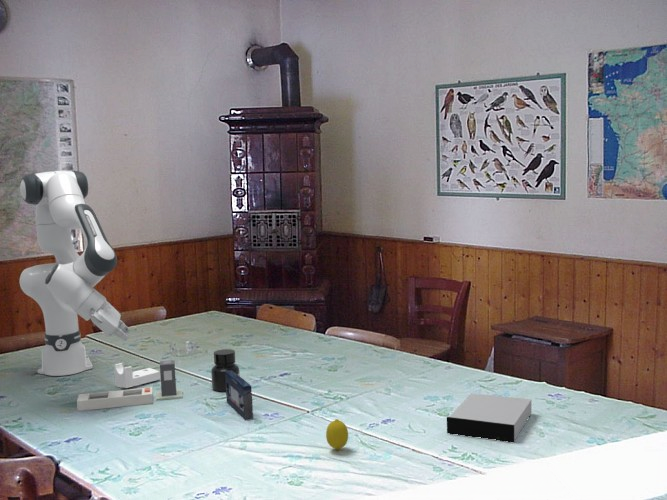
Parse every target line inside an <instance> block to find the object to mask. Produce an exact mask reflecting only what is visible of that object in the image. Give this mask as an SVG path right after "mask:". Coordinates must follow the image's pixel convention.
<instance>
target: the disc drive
mask: <svg viewBox="0 0 667 500" xmlns="http://www.w3.org/2000/svg"><path fill="white" fill-rule="evenodd" d="M531 413H532V399H528V398H521V397H520V398H519V397H509V396H501V395H492V394H481V393H473V392H472V393H470V394H469V395H468V396H467V397H466V398H465V399H464V400H463V401H462V403H460V404H459V406H457V408H456V409H455V410H454V411H453V412H452V413H451V414H450V415H449V416H446V434H447V433H450V434H449V435H453V434H458V435H457V436H460V435H465V436H464V437H468V436H472V437H471V438H475V437H481V438H480V439H482V438H488V439H487V440H489V439H496V440H495V441H497V440H500V441H499V442H504V441H508V442H507V443H511V442H514V443H515V441H514V440H516V439H517V438H518V436H519V434H520V433H521V431H522V430H521V429H523V428H524V427H525V425H526V424H525V422H526V421H527V419H528V418H529V416H530V415H531V416H532V414H533V413H532V414H531ZM531 416H530V417H531ZM529 419H530V418H529ZM529 419H528V420H529ZM527 422H528V421H527ZM527 422H526V423H527ZM524 424H525V425H524ZM523 426H524V427H523ZM522 427H523V428H522ZM520 430H521V431H520ZM519 432H520V433H519ZM517 435H518V436H517ZM516 437H517V438H516ZM515 438H516V439H515Z"/></svg>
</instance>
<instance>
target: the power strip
mask: <svg viewBox="0 0 667 500" xmlns="http://www.w3.org/2000/svg"><path fill="white" fill-rule="evenodd" d="M150 404H154V390H153V387H152V386H151V387H144V388H143V387H142V388H141V387H139V388H133V389H130V388H129V389H122V390H121V389H120V390H110V391H100V392H87V393H79V394H78V396H77V399H76V407H77V412H80V411H89V410H90V411H91V410H100V409H112V408H121V407H130V406H139V405H140V406H141V405H150Z"/></svg>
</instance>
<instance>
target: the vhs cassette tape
mask: <svg viewBox="0 0 667 500" xmlns="http://www.w3.org/2000/svg"><path fill="white" fill-rule="evenodd" d="M225 383H226V392H225V394H226V395H225V396H226V403H227V404H228V406H230V407H231V409H233V410H234V411H235V412H236V414H238V415H239V416H240V417H241V418H242V419H243V420H244V421H249V420H253V419H254V412H253V411H254V409H253V393H252V392H253V391H252V385H251V384H250V383H249V382H248V381H246V380H245V379H244V378H243V377H241V375H240V376H239V375H237V374H236V373H235V372H233V371H232V370H229V371H225Z"/></svg>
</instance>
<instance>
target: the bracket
mask: <svg viewBox="0 0 667 500" xmlns="http://www.w3.org/2000/svg"><path fill="white" fill-rule="evenodd" d="M113 371H114V384H115V387H117V388H119V387H120V389H123V388H125V389H128V388H129V389H130V388H132V387H136V386H137V387H138V386H141V385H143V384H144V385H145V384H147V383H151V382H155V381H159V380H161V376H160V370H157V369H154V368H152V367H146V368H144V369H138V370H134V371H133V366H126V367H124V365H123V362H120V363H116V364H115V363H114V364H113Z"/></svg>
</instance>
